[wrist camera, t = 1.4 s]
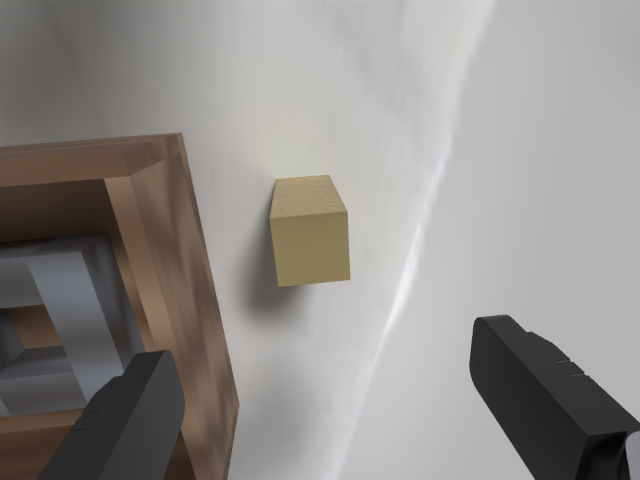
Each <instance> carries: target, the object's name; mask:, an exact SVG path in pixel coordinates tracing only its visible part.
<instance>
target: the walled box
mask: <svg viewBox="0 0 640 480" xmlns="http://www.w3.org/2000/svg"><path fill="white" fill-rule="evenodd" d="M161 350H170V351H171V353H172V355H173V357H174V361H175V364H176V368H177V372H178V375H179V379H180V382H181V386H182V389H183V393H184V398H185V412H184V418H183V422H182V425H181V428H180V431H179V434H178V437H177V440H176V443H175V446H174V448H173V451H172V454H171V457H170V460H169V463H168V466H167V469H166V472H165V475H164V478H163V480H227V476H228V470H229V464H230V458H231V452H232V446H233V440H234V434H235V428H236V422H237V416H238V411H239V401H238V396H237V392H236V387H235V382H234V377H233V373H232V368H231V363H230V359H229V354H228V349H227V344H226V340H225V335H224V330H223V325H222V321H221V316H220V311H219V307H218V302H217V297H216V292H215V288H214V283H213V278H212V273H211V269H210V264H209V259H208V255H207V250H206V245H205V240H204V236H203V231H202V226H201V221H200V217H199V212H198V207H197V203H196V198H195V193H194V188H193V184H192V179H191V174H190V169H189V165H188V160H187V155H186V151H185V146H184V141H183V136H182V133H170V134H157V135H145V136H132V137H120V138H107V139H94V140H82V141H69V142H56V143H44V144H31V145H19V146H6V147H0V480H36V479H37V478H38V476H39V475H40V474H41V472H42V471H43V469H44V468H45V466H46V465H47V463H48V462H49V460H50V459H51V457H52V456H53V454H54V453H55V451H56V450H57V448H58V447H59V445H60V444H61V443H62V441H63V440H64V438H65V437H66V435H69V434H70V429H71V428H72V426H73V425H74V423H75V422H76V420H77V419H78V417H81V413H82V412H83V410H84V409H85V407H86V406H87V404H88V403H89V401H90V400H91V398H92V397H93V395H94V394H95V393H96V392H97V391H98V390H99V389H101V388H102V387H103V386H104V385H105V384H106V383H107V382H109V381H110V380H111V379H112V378H113V377H115V376H122V375H123V373H124V371H125V370H126V368H127V367H128V365H129V363H130V362H131V360H132V359H133V357H134V356H135V355H136V354H137V353H143V352H152V351H161Z"/></svg>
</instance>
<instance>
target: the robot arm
mask: <svg viewBox="0 0 640 480" xmlns="http://www.w3.org/2000/svg"><path fill="white" fill-rule="evenodd" d="M469 366H470V373H471V378H472V381H473V383H474V386H475V387H476V389H477V391H478V392H479V394H480V395H481V397H482V398H483V400H484V402H485V403H486V405H487V406H488V408H489V409H490V411H491V412H492V414H493V415H494V417H495V418H496V420H497V421H498V423H499V425H500V426H501V427H502V429H503V431H504V432H505V434H506V435H507V437H508V438H509V440H510V441H511V443H512V444H513V446H514V448H515V449H516V451H517V452H518V454H519V455H520V457H521V459H522V460H523V461H524V463H525V465H526V466H527V468H528V469H529V471H530V472H531V474H532V475H533V477H534V479H535V480H640V423H639V422H638V421H637V420H636V419H635V418H634V417H633V416H632V415H631V414H630V413H628V412H627V411H626V410H625V409H624V408H623V407H622V406H621V405H620V404H619V403H618V402H616V401H615V400H614V399H613V398H612V397H611V396H610V395H609V394H608V393H607V392H606V391H604V390H603V389H602V388H601V387H600V386H599V385H598V384H597V383H596V382H595V381H594V380H592V379H591V378H590V377H589V376H586V375H585V374H584V371H583V370H582V369H580V368H579V367H578V366H577V365H576V364H575V363H574V362H571V361H570V358H568V357H567V356H566V355H565V354H564V353H563V352H562V351H561V350H560V349H559V348H558V347H556V346H555V345H554V344H553V343H551V342H549V341H548V340H546V339H544V338H542V337H540V336H538V335H537V334H535V333H533V332H526V331H524V329H523V328H522V327H521V326H520V325H519V324H518V323H516V321H515V320H513V319H512V318H511V317H510V316H508V315H497V316H488V317H478V318H476V320H475V322H474V326H473V336H472V344H471V353H470V364H469ZM184 412H185V398H184V393H183V389H182V386H181V382H180V379H179V375H178V372H177V368H176V364H175V361H174V357H173V355H172V353H171V351H170V350H161V351H152V352H143V353H137V354H136V355H135V356H134V357H133V359H132V360H131V362H130V363H129V365H128V367H127V368H126V370H125V371H124V373H123V375H122V376H115V377H113V378H112V379H111V380H110V381H109V382H107V383H106V384H105V385H104V386H103V387H102V388H101V389H99V390H98V391H97V392H96V393H95V394H94V395H93V397H92V398H91V400H90V401H89V403H88V404H87V406H86V407H85V409H84V410H83V412H82V413H81V417H78V419H77V420H76V422H75V423H74V425H73V426H72V428H71V429H70V434H69V435H66V437H65V438H64V440H63V441H62V443H61V444H60V445H59V447H58V448H57V450H56V451H55V453H54V454H53V456H52V457H51V459H50V460H49V462H48V463H47V465H46V466H45V468H44V469H43V471H42V472H41V474H40V475H39V476H38V478H37V479H36V480H163V478H164V475H165V472H166V469H167V466H168V463H169V460H170V457H171V454H172V451H173V448H174V446H175V443H176V440H177V437H178V434H179V431H180V428H181V425H182V422H183V418H184Z"/></svg>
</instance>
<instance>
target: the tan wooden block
mask: <svg viewBox="0 0 640 480" xmlns="http://www.w3.org/2000/svg"><path fill="white" fill-rule="evenodd" d="M269 219H270V227H271V235H272V242H273V250H274V257H275V265H276V272H277V280H278V287H283V286H293V285H303V284H313V283H323V282H333V281H343V280H350V262H349V239H348V215H347V210H346V208H345V206H344V204H343V202H342V200H341V198H340V196H339V194H338V192H337V190H336V188H335V186H334V184H333V182H332V180H331V178H330V176H329V175H319V176H308V177H296V178H284V179H276V184H275V190H274V195H273V201H272V207H271V212H270V218H269Z"/></svg>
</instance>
